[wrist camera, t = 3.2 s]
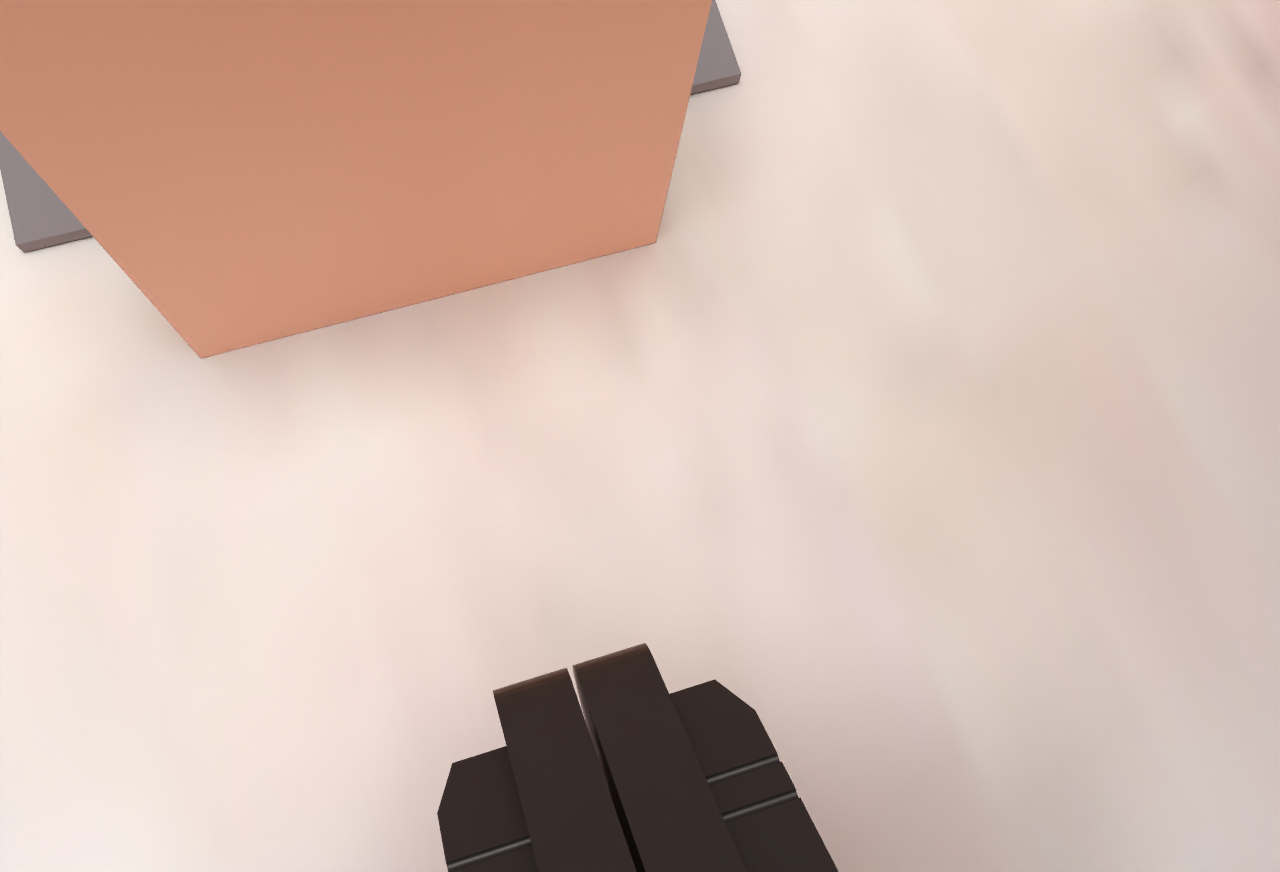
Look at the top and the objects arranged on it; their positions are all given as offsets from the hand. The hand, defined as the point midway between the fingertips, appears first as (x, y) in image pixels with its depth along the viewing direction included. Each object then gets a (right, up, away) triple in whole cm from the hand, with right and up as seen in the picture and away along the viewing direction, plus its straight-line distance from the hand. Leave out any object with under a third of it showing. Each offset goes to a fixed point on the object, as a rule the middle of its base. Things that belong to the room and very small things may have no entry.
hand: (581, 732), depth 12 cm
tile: (-4, +7, +15) cm, 17 cm away
